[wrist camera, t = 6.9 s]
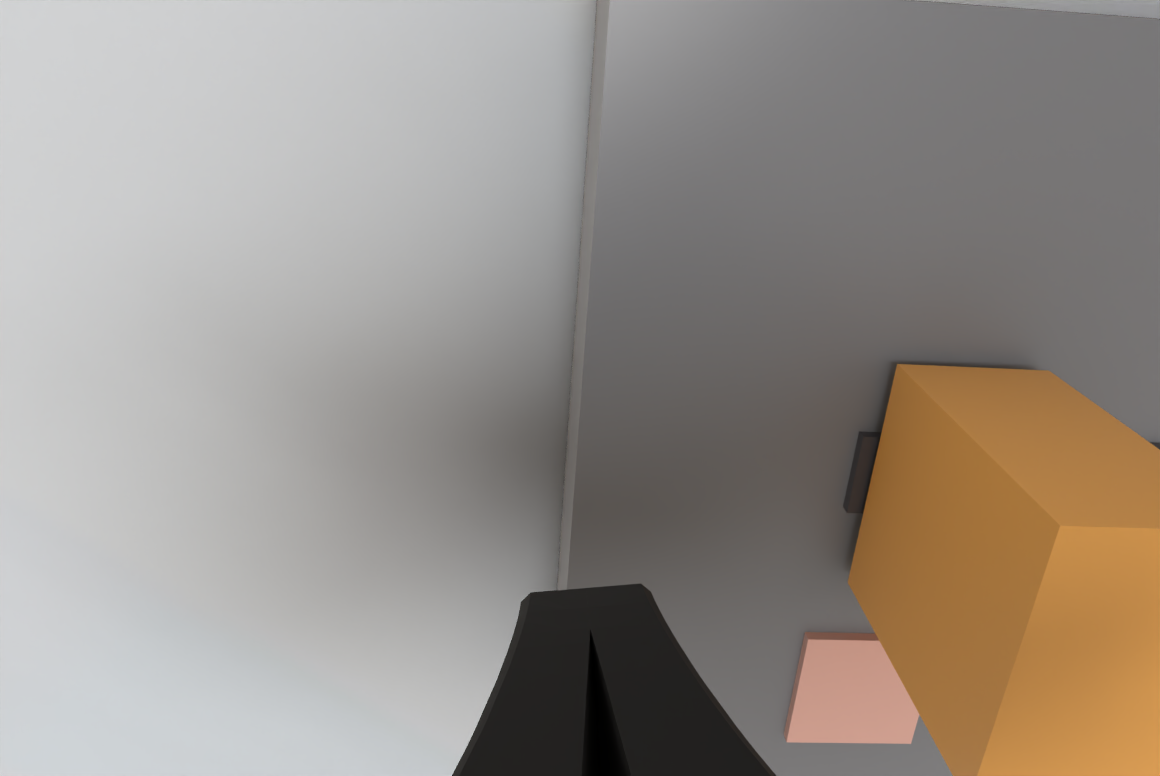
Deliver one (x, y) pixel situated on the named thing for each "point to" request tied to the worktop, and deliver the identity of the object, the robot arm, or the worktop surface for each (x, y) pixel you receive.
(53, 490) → the worktop surface
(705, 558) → the breaker panel
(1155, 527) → the block
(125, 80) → the worktop surface
